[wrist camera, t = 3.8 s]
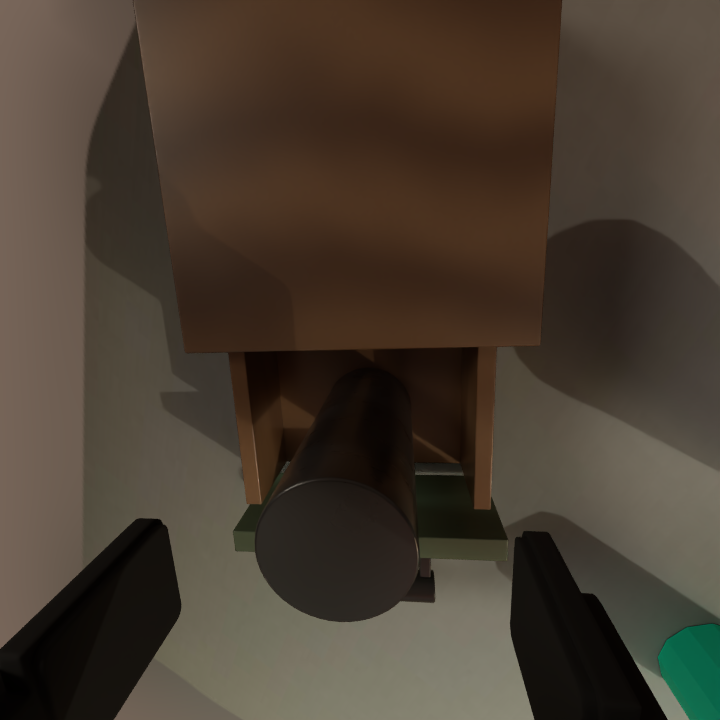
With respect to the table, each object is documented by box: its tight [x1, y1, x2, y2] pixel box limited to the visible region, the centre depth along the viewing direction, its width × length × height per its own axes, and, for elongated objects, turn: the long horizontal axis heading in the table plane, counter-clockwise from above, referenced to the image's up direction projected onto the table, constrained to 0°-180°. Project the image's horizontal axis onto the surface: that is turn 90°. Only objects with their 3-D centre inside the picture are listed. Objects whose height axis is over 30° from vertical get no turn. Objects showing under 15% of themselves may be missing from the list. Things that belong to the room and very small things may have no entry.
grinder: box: [255, 368, 420, 622], centre depth 17 cm, size 5×5×12 cm
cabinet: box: [133, 0, 562, 353], centre depth 18 cm, size 16×15×8 cm
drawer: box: [228, 347, 508, 603], centre depth 21 cm, size 19×14×6 cm
